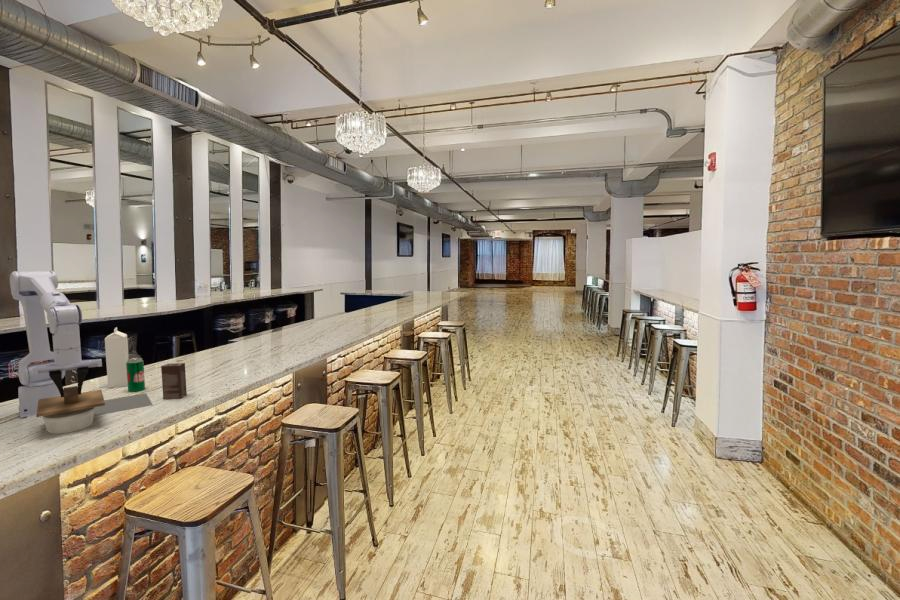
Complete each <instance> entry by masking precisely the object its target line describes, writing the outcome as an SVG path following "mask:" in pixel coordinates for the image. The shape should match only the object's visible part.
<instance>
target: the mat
mask: <svg viewBox="0 0 900 600" xmlns="http://www.w3.org/2000/svg"><path fill="white" fill-rule="evenodd" d="M104 401H105V405H104V406H98V407H95V411H94V416H93V417H95V416H97V417H98V416H101V415H102V416H103V415H107V414H112V413H118V412H123V411H128V410H134V409H140V408H145V407H151V406H153V404H154V403H152V401H151V399H150V397H149V396H148V394H147V393H140V394H134V395H128V396H121V397H117V398H111V399H104Z"/></svg>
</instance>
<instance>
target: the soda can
mask: <svg viewBox="0 0 900 600" xmlns="http://www.w3.org/2000/svg"><path fill="white" fill-rule="evenodd" d="M144 365H145V363H144V360H143V358H142V357H129V359H127V362H126V369H127V384H128V386H127V391H128V392H129V393H137V392H141V391H145V389H146V382H145V380H146V379H145V366H144Z"/></svg>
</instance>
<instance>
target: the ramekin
mask: <svg viewBox="0 0 900 600" xmlns="http://www.w3.org/2000/svg"><path fill="white" fill-rule="evenodd" d="M94 411H95V407H93V408H87V409H81V410H75V411H70V412H64V413H58V414H53V415H47V416H42V420H43V421H44V425H45V429H46V431H47V432H48V433H49V434H65V433H67V434H68V433H72V432H76V431H79V430H83V429H86V428H88V427H89V426H91V425H92V424H93V422H94V417H95V416H94Z"/></svg>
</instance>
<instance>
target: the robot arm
mask: <svg viewBox="0 0 900 600" xmlns="http://www.w3.org/2000/svg"><path fill="white" fill-rule="evenodd" d="M9 287H10V293H11V296H12V299H13V300H16V301H19V302H20V303H21V304H20V305H22V310H23V317H24V323H25V324H24V325H25V329H26V330H25V331H26V337H27V344H28V351H29V353H28V354H27V355H25V356H24V357H23V358H21V359H20V360H19V362H18V370H17V371H18V379H19V382H20V384H21V386H18V389H17V390H18V394H17V395H18V403H19V404H18V411H19V415H20V417H19V418H21V419H23V418H27V417H29V416H34V415H35V416H37V408H38V400H39V399H44V398H51V397H57V396H61V397H64V385H63V379H64V377H65V376H66V371H73V370H76V374H77V375H76V376H77V387H78V395H79V394H81V393H82V389H83V384H84V382H85V379H86V376H87V375H88V373H89V368H96V367H97V368H98V367H99V368H100V367H103V362H102V358H96V359H82V347H81V337H80V325H81V324H82V322H83V311H82V310H81V307H80V305H79V304H77V303H76V304H75V303H71V302H70V300H69V298H68V297H66V295H65V294H64V293H63V292H60V291H58V290H57V289H58V287H59V279H58V275H57V273H56V272H54V270H49V271H48V270H46V271H45V270H42V271H35V270H34V271H16V270H14V271H12V272H11V273H10V275H9ZM45 312H46V313H45ZM46 320H47V321H46ZM47 323H48V326H49V332H50V334H52V335H51V337H52V346H53V347H52V348H53V351H51V347H50V346H51V345H50V340H49V333H48V327H47ZM22 385H23V386H22Z"/></svg>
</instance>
